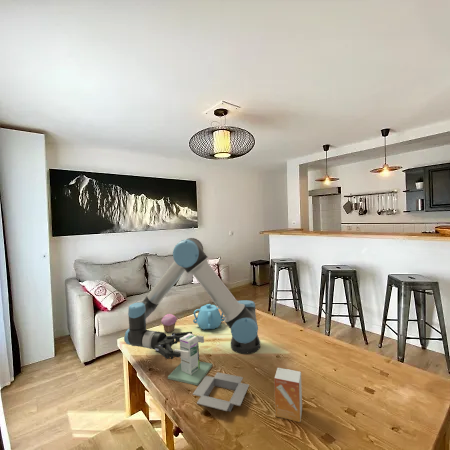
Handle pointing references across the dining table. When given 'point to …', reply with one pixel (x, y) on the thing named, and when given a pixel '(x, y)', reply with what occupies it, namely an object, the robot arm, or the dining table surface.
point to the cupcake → (169, 322)
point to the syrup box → (190, 353)
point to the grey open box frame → (224, 382)
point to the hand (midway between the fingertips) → (196, 346)
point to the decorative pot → (208, 317)
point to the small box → (288, 394)
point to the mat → (191, 379)
